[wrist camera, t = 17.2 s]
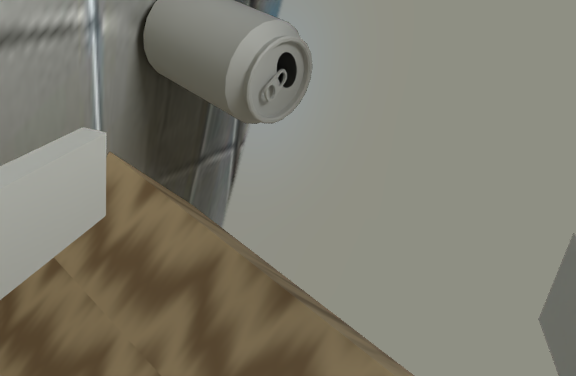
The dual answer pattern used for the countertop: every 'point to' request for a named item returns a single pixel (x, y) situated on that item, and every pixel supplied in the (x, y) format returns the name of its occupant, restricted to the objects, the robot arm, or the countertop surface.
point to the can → (230, 56)
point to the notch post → (171, 302)
